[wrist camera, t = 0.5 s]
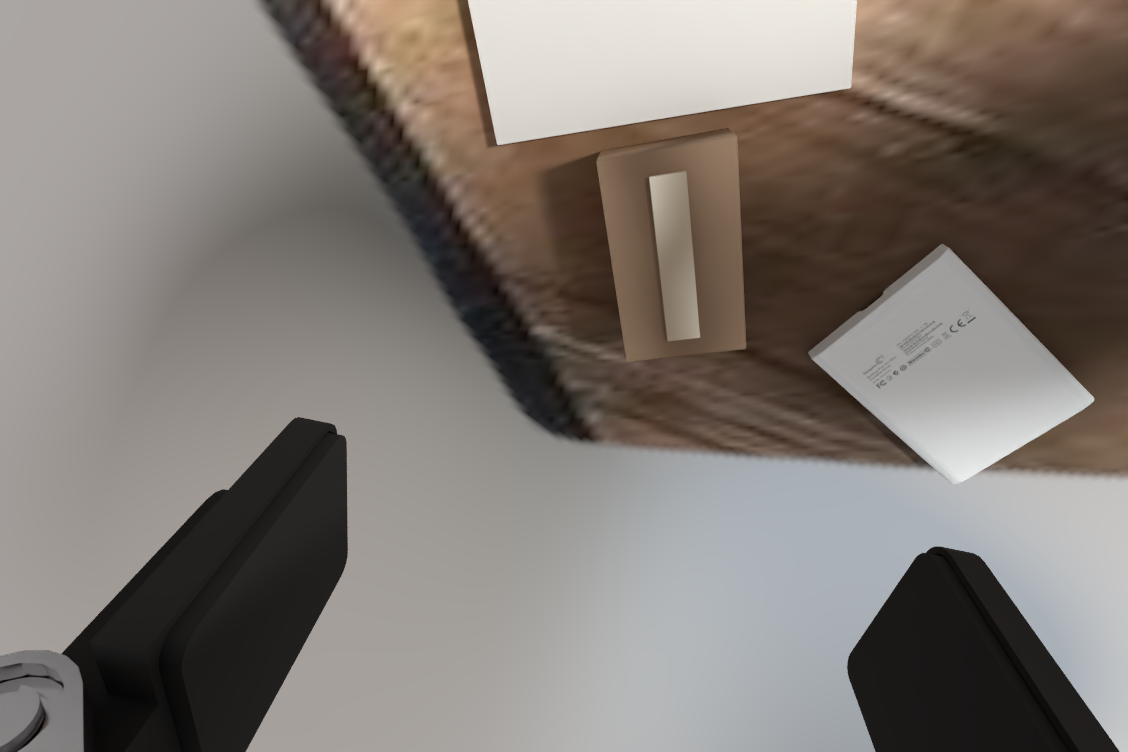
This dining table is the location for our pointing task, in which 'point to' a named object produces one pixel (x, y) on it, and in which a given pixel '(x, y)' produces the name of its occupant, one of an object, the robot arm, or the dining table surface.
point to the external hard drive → (950, 369)
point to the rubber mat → (652, 58)
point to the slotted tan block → (676, 244)
